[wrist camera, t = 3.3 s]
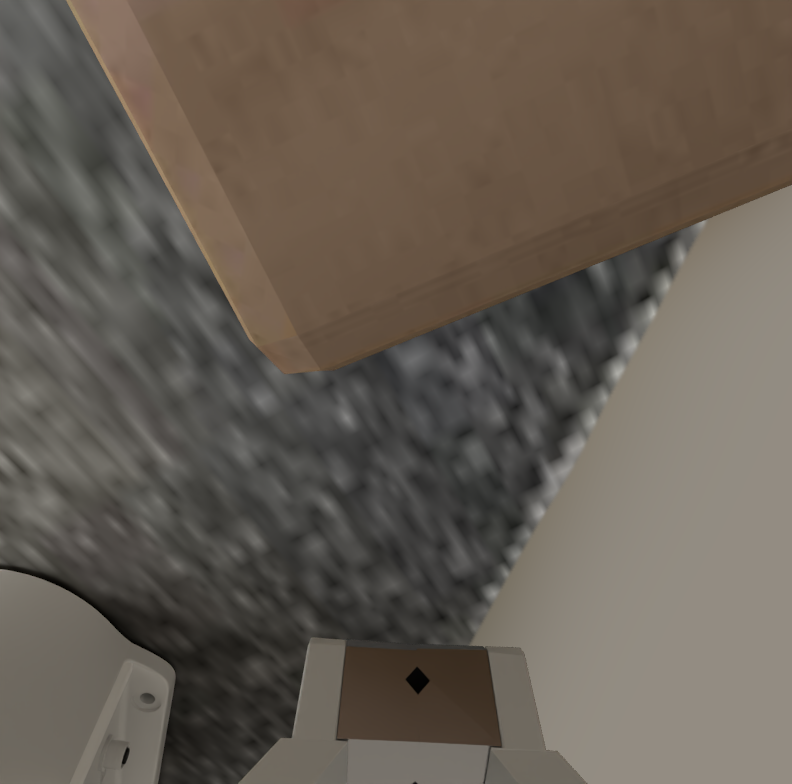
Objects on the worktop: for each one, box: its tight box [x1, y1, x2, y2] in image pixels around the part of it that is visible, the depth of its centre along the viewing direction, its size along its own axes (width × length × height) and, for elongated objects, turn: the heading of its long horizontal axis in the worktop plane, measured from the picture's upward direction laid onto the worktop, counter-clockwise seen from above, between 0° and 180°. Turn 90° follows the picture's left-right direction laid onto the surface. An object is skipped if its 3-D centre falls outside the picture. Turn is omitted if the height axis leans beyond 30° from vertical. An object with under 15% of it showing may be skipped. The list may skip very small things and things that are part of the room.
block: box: [66, 0, 792, 374], centre depth 16 cm, size 10×10×20 cm
